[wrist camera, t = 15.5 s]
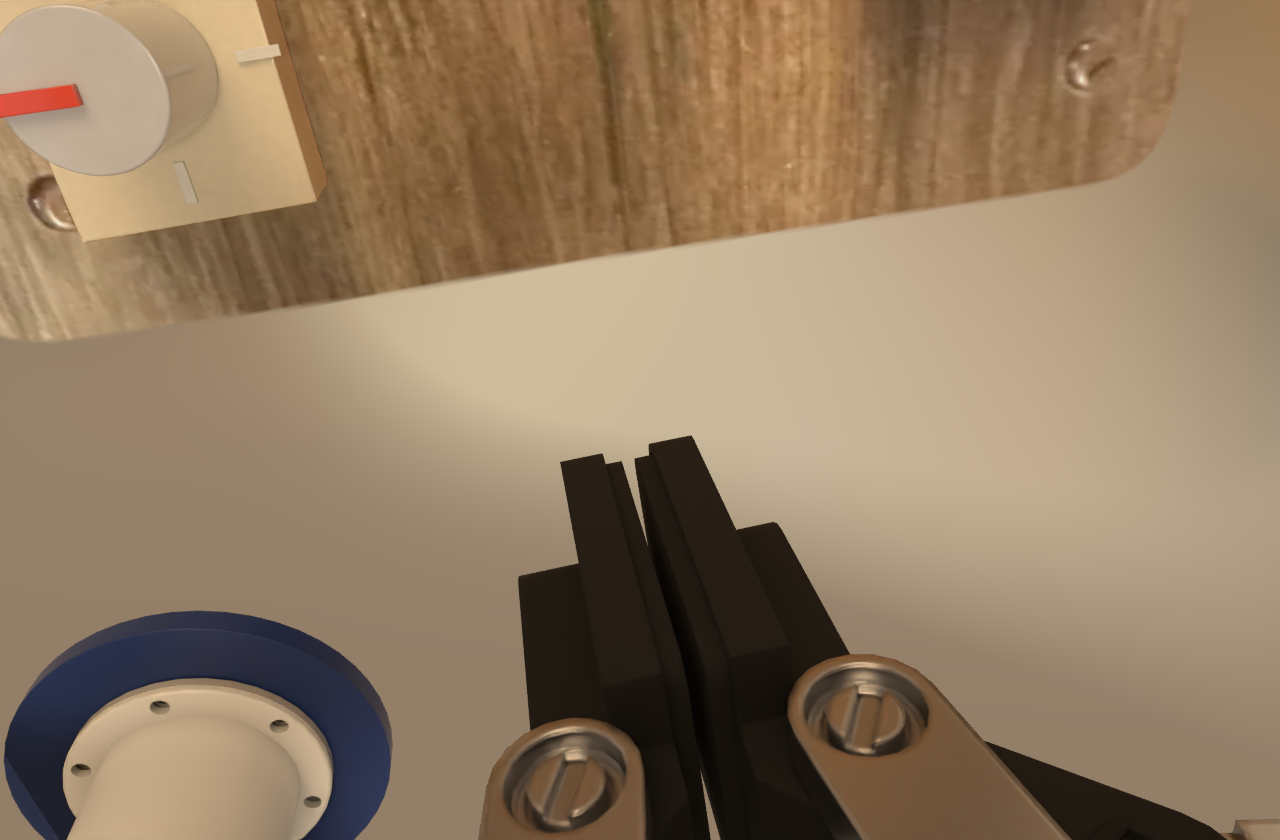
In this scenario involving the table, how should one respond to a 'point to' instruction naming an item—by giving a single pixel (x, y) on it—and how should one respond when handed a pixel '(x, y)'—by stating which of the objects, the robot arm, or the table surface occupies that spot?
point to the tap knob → (104, 82)
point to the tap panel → (211, 135)
